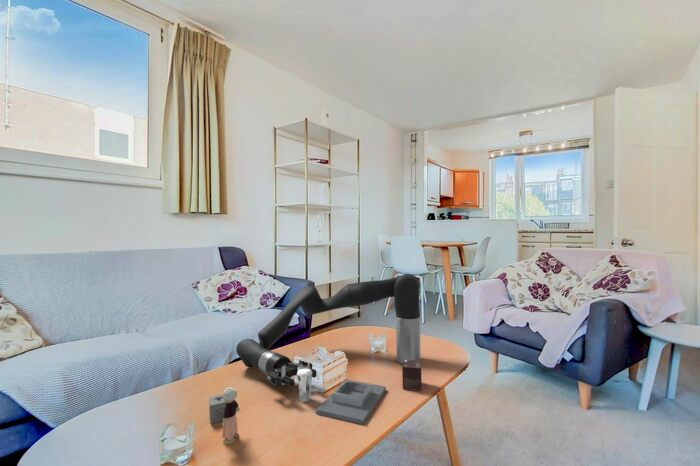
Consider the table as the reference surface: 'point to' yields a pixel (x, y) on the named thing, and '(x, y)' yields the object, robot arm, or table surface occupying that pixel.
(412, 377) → the box
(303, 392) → the milkshake
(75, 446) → the table surface
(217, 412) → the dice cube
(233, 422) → the grandmother figurine
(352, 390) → the dock
